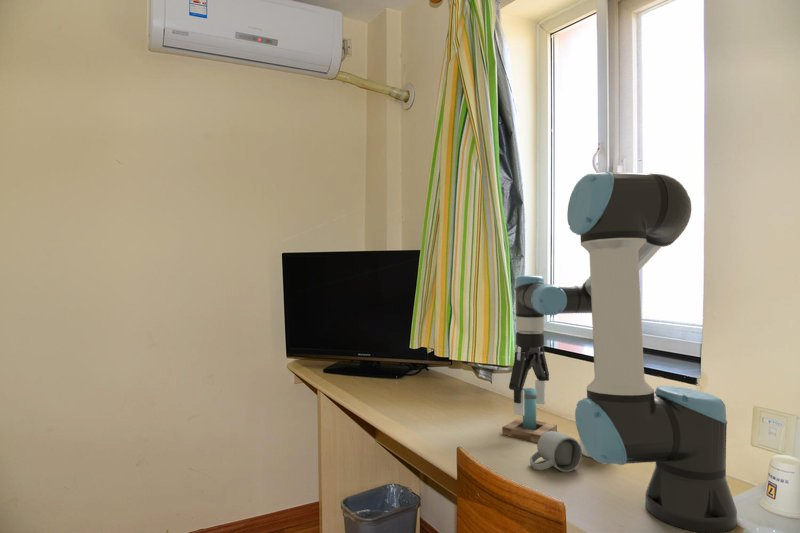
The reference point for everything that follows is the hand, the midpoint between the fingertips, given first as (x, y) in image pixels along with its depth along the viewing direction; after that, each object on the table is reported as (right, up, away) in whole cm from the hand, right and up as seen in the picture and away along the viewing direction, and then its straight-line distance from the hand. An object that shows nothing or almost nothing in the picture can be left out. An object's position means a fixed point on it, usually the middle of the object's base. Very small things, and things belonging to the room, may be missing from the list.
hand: (530, 409), depth 144 cm
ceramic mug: (0, -7, -22) cm, 24 cm away
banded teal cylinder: (0, -7, 0) cm, 7 cm away
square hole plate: (0, -7, 0) cm, 7 cm away
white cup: (+12, -7, -15) cm, 20 cm away
